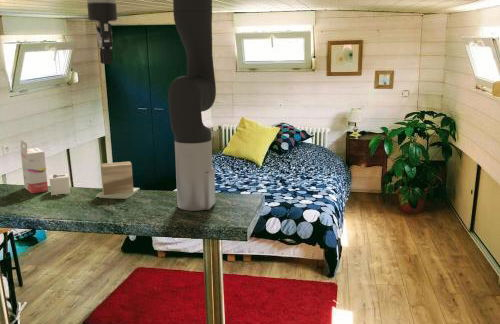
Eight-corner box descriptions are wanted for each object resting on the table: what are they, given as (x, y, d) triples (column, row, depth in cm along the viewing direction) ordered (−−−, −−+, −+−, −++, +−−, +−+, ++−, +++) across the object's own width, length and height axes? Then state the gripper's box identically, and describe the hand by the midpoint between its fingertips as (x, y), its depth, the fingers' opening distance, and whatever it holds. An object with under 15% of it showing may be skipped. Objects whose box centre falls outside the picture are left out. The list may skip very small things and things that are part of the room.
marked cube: (70, 194, 139) (68, 176, 137) (51, 196, 137) (49, 178, 136) (69, 189, 143) (68, 172, 142) (51, 191, 141) (49, 174, 140)
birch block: (133, 191, 138) (131, 164, 136) (104, 195, 135) (101, 166, 133) (131, 188, 141) (129, 161, 140) (102, 191, 139) (100, 163, 137)
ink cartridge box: (49, 191, 142) (44, 141, 138) (31, 194, 139) (25, 143, 135) (41, 185, 148) (36, 137, 145) (24, 187, 145) (18, 139, 142)
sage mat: (139, 189, 142) (139, 187, 142) (126, 198, 133) (126, 196, 133) (110, 188, 143) (110, 186, 143) (95, 197, 135) (95, 195, 135)
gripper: (119, 0, 127) (123, 63, 130) (113, 5, 139) (117, 63, 143) (88, -1, 124) (94, 64, 127) (85, 4, 137) (90, 63, 140)
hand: (106, 63), depth 135 cm, fingers open, 8 cm apart
